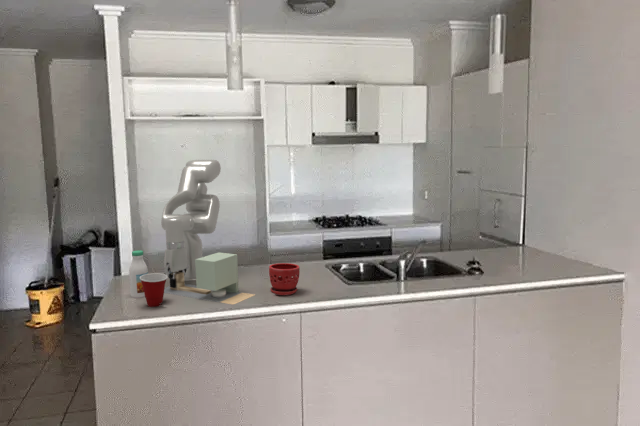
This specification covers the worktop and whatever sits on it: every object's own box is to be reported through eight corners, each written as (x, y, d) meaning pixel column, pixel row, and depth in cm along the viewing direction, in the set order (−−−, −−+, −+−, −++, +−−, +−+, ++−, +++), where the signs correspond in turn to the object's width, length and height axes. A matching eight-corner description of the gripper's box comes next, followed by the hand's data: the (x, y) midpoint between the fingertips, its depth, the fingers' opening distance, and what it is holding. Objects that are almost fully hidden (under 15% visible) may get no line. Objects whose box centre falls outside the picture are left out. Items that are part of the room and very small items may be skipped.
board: (179, 284, 248) (179, 282, 248) (242, 294, 231) (242, 292, 231) (155, 293, 235) (155, 291, 235) (219, 304, 218) (219, 302, 218)
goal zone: (242, 294, 231) (242, 292, 231) (255, 297, 227) (255, 294, 227) (219, 304, 218) (219, 302, 218) (233, 306, 214) (233, 304, 214)
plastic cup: (155, 310, 212) (154, 280, 210) (135, 306, 216) (133, 277, 215) (174, 302, 221) (173, 274, 220) (154, 299, 226) (153, 271, 224)
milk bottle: (130, 300, 225) (127, 253, 222) (131, 295, 233) (128, 250, 230) (149, 298, 227) (146, 252, 225) (149, 293, 235) (147, 248, 232)
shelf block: (220, 291, 237) (218, 252, 234) (238, 294, 232) (237, 254, 229) (197, 300, 224) (195, 259, 221) (216, 303, 219) (214, 261, 216)
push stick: (177, 286, 242) (176, 271, 241) (212, 292, 232) (211, 276, 231) (170, 289, 238) (169, 273, 237) (205, 294, 228) (204, 278, 227)
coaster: (218, 292, 231) (218, 288, 231) (229, 294, 229) (229, 289, 228) (208, 296, 226) (208, 291, 226) (220, 298, 223) (219, 293, 223)
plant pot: (288, 298, 224) (288, 270, 223) (263, 294, 231) (262, 267, 230) (305, 290, 236) (305, 264, 234) (281, 287, 242) (280, 261, 241)
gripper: (182, 241, 245) (184, 280, 248) (154, 248, 231) (157, 289, 233) (195, 242, 241) (196, 282, 244) (167, 249, 227) (169, 291, 229)
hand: (177, 285), depth 238 cm, fingers closed on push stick, 4 cm apart
